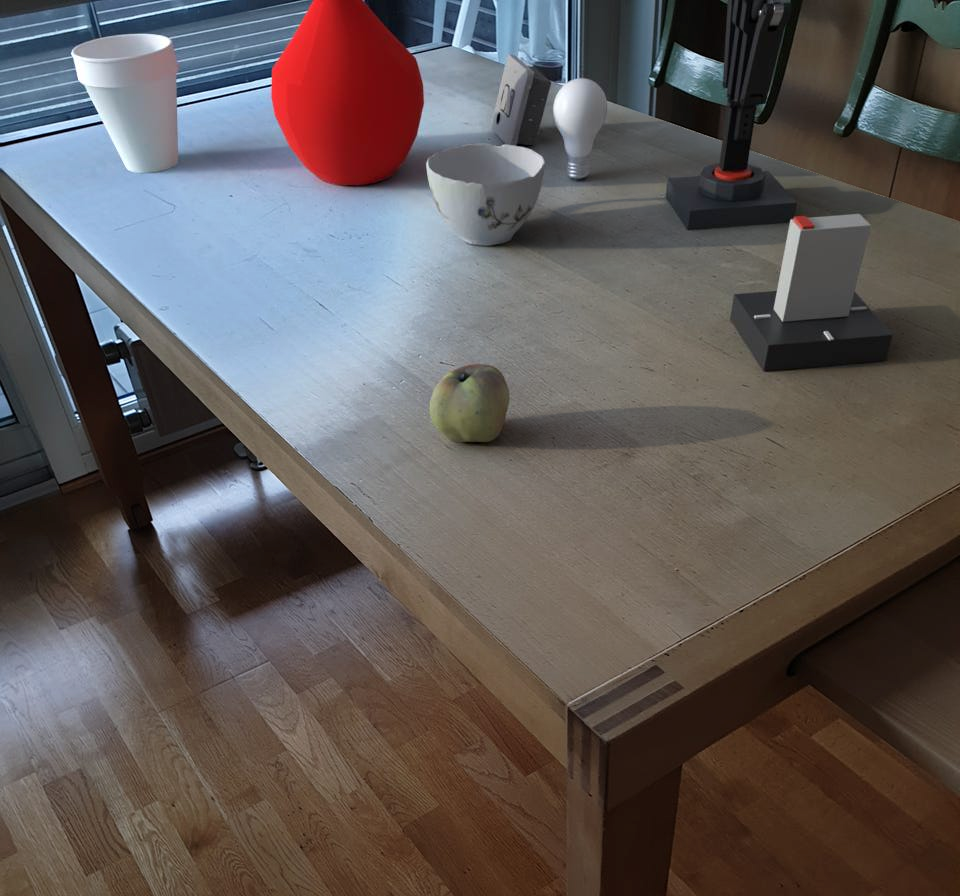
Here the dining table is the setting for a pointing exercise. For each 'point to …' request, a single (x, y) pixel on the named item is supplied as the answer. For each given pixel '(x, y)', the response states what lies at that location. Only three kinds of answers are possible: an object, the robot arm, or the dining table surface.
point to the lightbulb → (579, 121)
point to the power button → (733, 174)
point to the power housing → (729, 200)
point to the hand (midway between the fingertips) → (732, 167)
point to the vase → (347, 94)
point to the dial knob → (820, 266)
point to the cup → (134, 96)
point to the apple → (470, 404)
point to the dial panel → (808, 335)
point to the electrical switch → (520, 103)
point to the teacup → (485, 189)
